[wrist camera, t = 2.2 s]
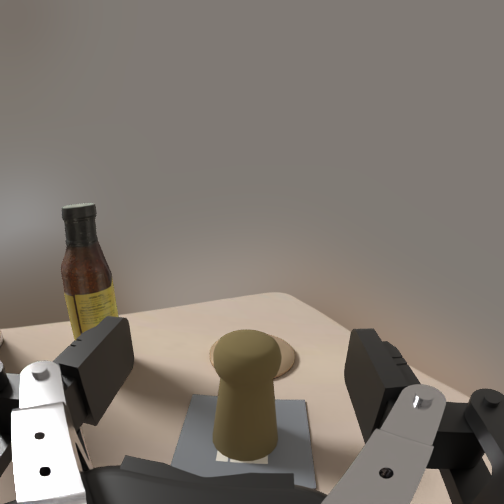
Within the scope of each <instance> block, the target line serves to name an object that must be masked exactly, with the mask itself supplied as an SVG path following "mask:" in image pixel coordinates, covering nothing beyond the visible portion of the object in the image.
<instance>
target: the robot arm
mask: <svg viewBox="0 0 504 504" xmlns="http://www.w3.org/2000/svg"><path fill="white" fill-rule="evenodd" d="M2 342H3V337H2V334H1V330H0V346H1V344H2ZM133 364H134V353H133V346H132V340H131V333H130V326H129V322H128V320H127V319H126V318H122V317H113V316H106V317H105V318H104V319H103V320H102V321H101V322H100V323H99V324H98V325H97V326H96V327H93V328H91V329H89V330H87V331H85V332H83V333H82V334H81V335H80V336H79V337H78V338H77V339H76V340H75V341H74V342H72V343H71V344H70V346H68V347H67V348H66V349H65V350H64V351H63V352H62V353H61V354H60V355H59V356H58V357H57V358H56V359H55V360H54V361H53V362H51V361H38V362H34V363H32V364H29V365H28V366H26V367H25V368H24V369H23V370H22V372H21V374H9V373H6V371H5V369H4V366H3V363H2V362H1V361H0V477H1V475H2V474H3V472H4V471H5V469H6V468H7V466H8V465H9V463H10V462H11V460H12V459H13V467H14V477H15V487H16V494H17V499H16V500H14V501H11V502H8V503H5V504H410V502H411V500H412V498H413V496H414V494H415V492H416V490H417V487H418V485H419V483H420V481H421V478H422V476H423V474H424V471H425V469H426V468H428V469H439V470H440V473H441V476H442V478H443V481H444V483H445V486H446V489H447V491H448V494H449V497H450V499H451V502H452V504H504V395H503V394H501V393H500V392H498V391H495V390H492V389H479V390H476V391H475V392H474V393H473V394H472V395H471V397H470V400H469V402H468V403H455V402H446V398H445V396H444V395H443V394H442V392H440V391H439V390H438V389H436V388H434V387H431V386H428V385H423V384H420V382H419V381H418V379H417V377H416V376H415V374H414V373H413V371H412V370H411V368H410V367H409V365H407V362H406V361H405V359H404V358H402V355H401V353H400V352H399V350H398V349H397V348H396V347H394V346H393V345H391V344H390V343H389V342H387V341H385V342H382V341H381V339H380V338H379V336H378V334H377V333H376V331H375V330H374V329H353V330H352V332H351V335H350V341H349V346H348V352H347V358H346V363H345V370H344V378H345V384H346V387H347V390H348V393H349V396H350V399H351V402H352V405H353V408H354V411H355V414H356V417H357V420H358V423H359V426H360V429H361V432H362V436H363V439H364V442H365V446H364V447H363V449H362V450H361V452H360V453H359V454H358V456H357V457H356V459H355V460H354V462H353V463H352V464H351V466H350V467H349V468H348V470H347V471H346V473H345V474H344V475H343V477H342V478H341V479H340V480H339V482H338V483H337V484H336V486H335V487H334V488H333V489H332V491H331V492H330V493H329V494H328V495H326V494H324V493H322V492H320V491H317V490H314V489H312V488H308V487H304V486H300V485H295V484H294V473H251V472H250V473H243V474H235V475H226V476H216V477H202V476H198V475H195V474H192V473H189V472H187V471H184V470H181V469H178V468H175V467H173V466H170V465H168V464H165V463H161V462H156V461H150V460H145V459H140V458H136V457H131V456H127V455H125V458H124V460H123V462H122V464H121V466H105V467H98V468H93V465H92V462H91V459H90V456H89V453H88V449H87V446H86V443H85V439H84V436H83V433H82V430H81V428H80V426H81V425H82V423H87V424H91V425H94V426H97V424H98V422H99V421H100V419H101V418H102V416H103V414H104V413H105V411H106V410H107V408H108V407H109V405H110V403H111V402H112V400H113V399H114V397H115V396H116V394H117V392H118V391H119V389H120V388H121V386H122V385H123V383H124V381H125V380H126V378H127V377H128V375H129V374H130V372H131V371H132V368H133ZM484 453H486V455H487V457H488V459H489V461H490V463H491V465H492V475H491V474H490V472H489V470H488V468H487V466H486V464H485V462H484V461H483V459H482V456H483V455H484Z"/></svg>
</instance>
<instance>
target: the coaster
mask: <svg viewBox="0 0 504 504" xmlns="http://www.w3.org/2000/svg"><path fill="white" fill-rule="evenodd" d="M270 336H271V337H273V338H274V339H275V340H276V342H277V343H278V345H279V348H280V351H281V356H282V359H281V365H280V369H279V371H278V374H277V375H276V376H275V377H274V378H276V377H279V376H281V375H283V374H284V373H286V372H287V371H288V370H290V368H291V367H292V366H293V364H294V359H295V353H294V350H293V348H292V347H291V346H290V345H289V344H288V343H287V342H286V341H284V340H282V339H280V338H278V337H275V336H272V335H270ZM218 341H219V340H218ZM218 341H217V342H215V343H214V344H213V346H212V347H211V349H210V361H211V363H212V365H213V366H214V362H213V352H214V348H215V346H216V344H217V343H218ZM214 368H215V367H214Z"/></svg>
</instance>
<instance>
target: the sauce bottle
mask: <svg viewBox="0 0 504 504" xmlns="http://www.w3.org/2000/svg"><path fill="white" fill-rule="evenodd" d="M95 217H96V207H95V204H94V203H84V204H75V205H68V206H65V207H62V218H63V220H64V223H65V232H66V245H67V247H66V252H65V256H64V259H63V261H62V265H61V274H62V279H63V285H64V294H65V299H66V304H67V309H68V314H69V318H70V322H71V327H72V331H73V335H74V339H75V340H76V339H77V338H78V337H79V336H80V335H81V334H82V333H83V332H85V331H87V330H89V329H91V328H93V327H96V326H97V325H98V324H99V323H100V322H101V321H102V320H103V319H104V318H105V317H106V316H113V317H118V311H117V306H116V299H115V294H114V287H113V281H112V274H111V271H110V269H109V266H108V264H107V262H106V259H105V257H104V255H103V252H102V250H101V247H100V245H99V242H98V239H97V235H96V224H95Z"/></svg>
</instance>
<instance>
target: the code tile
mask: <svg viewBox="0 0 504 504" xmlns="http://www.w3.org/2000/svg"><path fill="white" fill-rule="evenodd" d="M217 398H218V396H207V395H197V394H193V396H192V399H191V402H190V405H189V408H188V411H187V415H186V418H185V421H184V424H183V427H182V430H181V434H180V437H179V440H178V443H177V446H176V450H175V453H174V456H173V459H172V462H171V466H173V467H175V468H178V469H181V470H184V471H187V472H189V473H192V474H195V475H198V476H202V477H216V476H226V475H235V474H243V473H250V472H251V473H294V484H295V485H300V486H304V487H308V488H312V489H316V482H315V473H314V465H313V457H312V450H311V442H310V435H309V427H308V420H307V413H306V406H305V400H275V408H276V420H277V432H278V442H277V446H276V447H275V449H274V450H273V451H272V453H270V454H269V455H267V456H266V457H264V458H261V459H258V460H254V461H238V460H233V459H230V458H228V457H226V456H224V455H222V454H221V453H220V452H219V451H218V450H217V449H216V448H215V446H214V444H213V428H214V420H215V413H216V406H217Z"/></svg>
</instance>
